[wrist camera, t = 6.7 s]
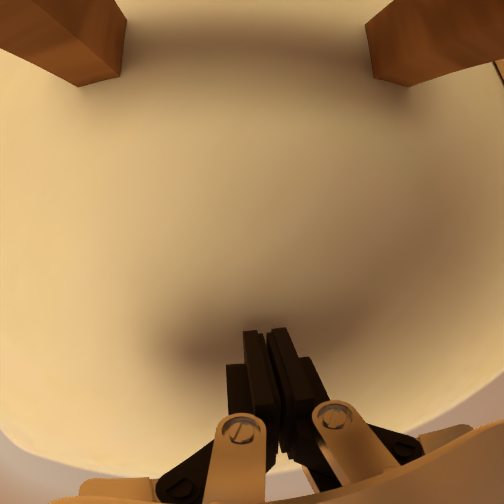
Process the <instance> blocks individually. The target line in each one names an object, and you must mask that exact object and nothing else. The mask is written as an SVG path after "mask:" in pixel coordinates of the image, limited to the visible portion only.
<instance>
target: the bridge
mask: <svg viewBox="0 0 504 504" xmlns="http://www.w3.org/2000/svg"><path fill="white" fill-rule="evenodd" d="M126 23H127V19H126V18H125V16H124V15H123V13H122V12H121V10H120V8H119V7H118V5H117V4H116V2H115V1H114V0H0V48H1V49H3V50H5V51H7V52H10V53H12V54H14V55H16V56H18V57H20V58H22V59H24V60H26V61H28V62H31V63H33V64H35V65H37V66H39V67H41V68H42V69H44V70H46V71H48V72H50V73H52V74H54V75H56V76H58V77H60V78H62V79H64V80H66V81H67V82H69V83H71V84H73V85H75V86H77V87H80V86H84V85H87V84H91V83H94V82H98V81H102V80H106V79H110V78H115V77H119V76H120V69H121V59H122V50H123V43H124V36H125V29H126ZM365 27H366V32H367V37H368V43H369V48H370V54H371V61H372V68H373V75H374V78H377V79H381V80H385V81H389V82H393V83H396V84H400V85H403V86H407V87H411V86H413V85H416V84H419V83H422V82H425V81H428V80H431V79H434V78H437V77H440V76H443V75H446V74H449V73H452V72H456V71H459V70H463V69H466V68H470V67H473V66H477V65H481V64H485V63H489V62H493V61H497V60H501V59H504V0H394V1H392V2H391V3H390V4H389V5H387V6H386V7H385V8H384V9H383V10H382V11H380V12H379V13H378V14H377V15H376V16H374V17H373V18H372V19H371V20H370V21H369V22H368V23H366V24H365Z"/></svg>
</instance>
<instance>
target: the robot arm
mask: <svg viewBox="0 0 504 504" xmlns="http://www.w3.org/2000/svg"><path fill="white" fill-rule="evenodd" d="M495 63H496V65H497V67H498V69H499V72H500V74H501V76H502V78H503V80H504V59H501V60H497V61H495ZM243 343H244V362H245V364H230V365H226V375H227V395H228V413H229V416H227V417H225V418H223V419H222V420H221V421H220V422H219V424H218V426H217V428H216V433H215V439H214V440H212V441H211V442H210V443H208V444H207V445H206V446H204V447H203V448H202V449H200V450H199V451H198V452H196V453H195V454H194V455H192V456H191V457H189V458H188V459H186V460H185V461H184V462H182V463H181V464H179V465H178V466H176V467H175V468H173V469H172V470H170V471H169V472H167V473H166V474H164V475H163V476H162V477H161V478H159V479H149V477H143V478H118V479H104V478H94V479H89V480H87V481H85V482H83V484H82V485H81V486H80V489H79V496H74V497H65V498H61V499H57V500H54V501H51V502H50V503H48V504H504V420H500V421H496V422H492V423H488V424H485V425H483V426H480V427H478V428H476V429H473V428H472V427H470V426H469V425H465V424H460V425H456V426H452V427H449V428H445V429H441V430H438V431H434V432H430V433H425V434H421V435H419V436H418V438H414V437H411V436H409V435H405V434H401V433H397V432H394V431H390V430H387V429H384V428H380V427H377V426H374V425H371V424H368V423H366V422H365V421H364V420H363V418H362V417H361V416H360V415H359V413H358V412H357V411H356V409H355V408H354V407H352V406H351V405H350V404H348V403H346V402H343V401H338V400H331V401H330V399H329V397H328V395H327V392H326V390H325V388H324V386H323V384H322V382H321V380H320V377H319V375H318V373H317V371H316V369H315V367H314V365H313V363H312V361H311V359H310V357H302V358H299V357H298V355H297V353H296V350H295V348H294V345H293V343H292V340H291V338H290V336H289V333H288V331H287V329H286V328H275V329H272V330H271V332H270V333H267V336H266V343H265V339H264V336H263V333H259V334H258V332H257V330H251V331H243ZM278 444H280V448H281V452H282V453H286V452H287V455H288V458H289V460H290V459H293V460H294V461H295V462H297V463H299V464H301V465H302V469H303V471H304V473H305V475H306V477H307V479H308V481H309V483H310V485H311V487H312V489H313V491H314V492H315V494H312V495H307V496H302V497H297V498H291V499H286V500H278V501H271V502H265V476H266V473H267V472H268V471H269V470H270V469H271V468H272V467H273V466H274V465H275V461H276V454H278Z"/></svg>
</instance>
